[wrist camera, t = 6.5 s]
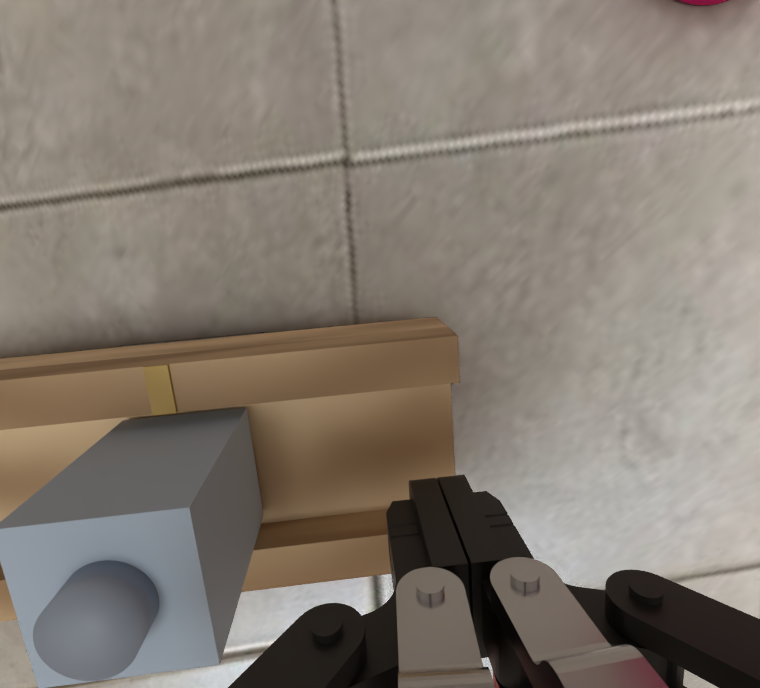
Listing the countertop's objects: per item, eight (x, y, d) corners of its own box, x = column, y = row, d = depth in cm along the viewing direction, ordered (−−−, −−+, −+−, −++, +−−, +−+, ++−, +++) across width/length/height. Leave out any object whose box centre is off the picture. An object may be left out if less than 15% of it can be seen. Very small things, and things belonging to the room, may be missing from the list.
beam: (-53, 350, 20) (-436, 460, 10) (423, 305, 21) (492, 365, 11) (-2, 524, 22) (-285, 758, 12) (434, 475, 23) (501, 653, 13)
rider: (123, 420, 16) (-50, 562, 9) (246, 407, 16) (172, 536, 9) (146, 528, 17) (7, 733, 10) (263, 515, 17) (207, 706, 10)
